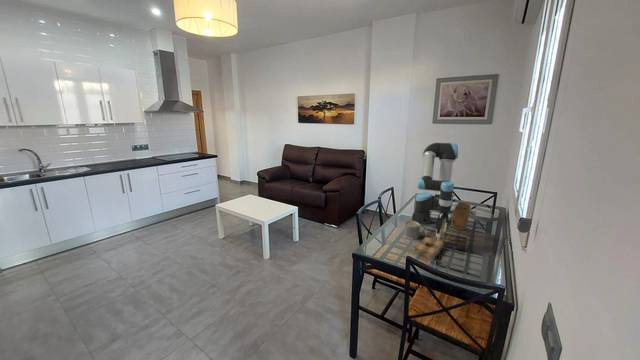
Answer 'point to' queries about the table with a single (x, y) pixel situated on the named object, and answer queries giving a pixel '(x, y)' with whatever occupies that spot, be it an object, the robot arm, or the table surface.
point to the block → (460, 216)
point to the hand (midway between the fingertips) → (440, 233)
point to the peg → (442, 231)
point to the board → (429, 248)
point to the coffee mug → (412, 229)
